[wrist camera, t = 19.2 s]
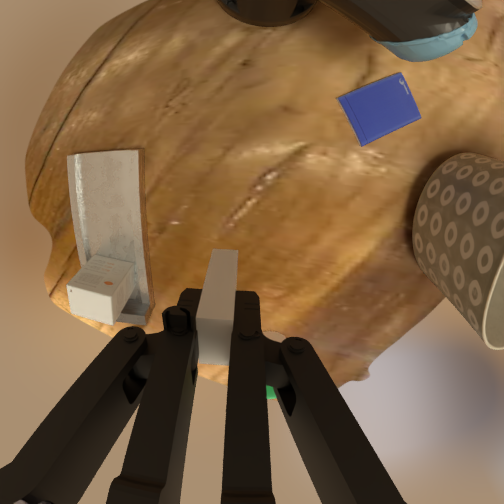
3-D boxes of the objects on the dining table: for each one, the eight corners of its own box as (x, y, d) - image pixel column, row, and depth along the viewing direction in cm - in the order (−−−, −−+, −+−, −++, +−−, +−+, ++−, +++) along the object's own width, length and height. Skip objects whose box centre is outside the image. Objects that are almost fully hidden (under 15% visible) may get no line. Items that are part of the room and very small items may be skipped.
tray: (74, 153, 38) (54, 159, 33) (144, 148, 39) (128, 152, 33) (95, 298, 50) (82, 316, 45) (155, 305, 50) (146, 325, 45)
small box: (96, 280, 46) (69, 314, 37) (94, 253, 44) (64, 284, 35) (135, 289, 47) (113, 327, 38) (135, 262, 45) (111, 297, 35)
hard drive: (401, 71, 32) (337, 97, 35) (422, 118, 35) (362, 147, 38) (396, 72, 34) (334, 98, 36) (417, 118, 37) (358, 146, 39)
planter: (396, 283, 49) (460, 372, 28) (399, 149, 39) (509, 185, 17) (484, 261, 48) (549, 321, 26) (495, 150, 37) (585, 183, 16)
